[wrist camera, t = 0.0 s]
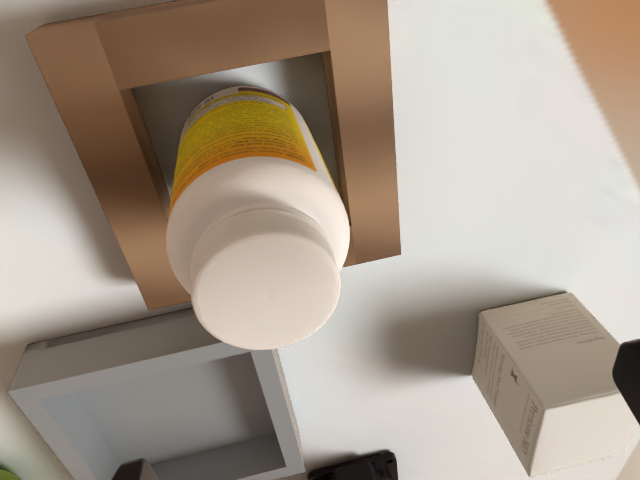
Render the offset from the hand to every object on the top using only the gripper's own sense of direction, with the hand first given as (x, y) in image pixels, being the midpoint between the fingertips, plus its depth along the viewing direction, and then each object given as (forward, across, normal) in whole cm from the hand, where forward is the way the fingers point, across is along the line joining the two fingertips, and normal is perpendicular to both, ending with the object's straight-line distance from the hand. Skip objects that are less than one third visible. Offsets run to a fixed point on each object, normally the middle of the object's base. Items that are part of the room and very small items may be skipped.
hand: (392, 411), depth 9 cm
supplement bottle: (+15, +2, 0) cm, 15 cm away
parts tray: (+15, +9, +14) cm, 22 cm away
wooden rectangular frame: (+15, +2, 0) cm, 15 cm away
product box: (+15, -12, +16) cm, 25 cm away
